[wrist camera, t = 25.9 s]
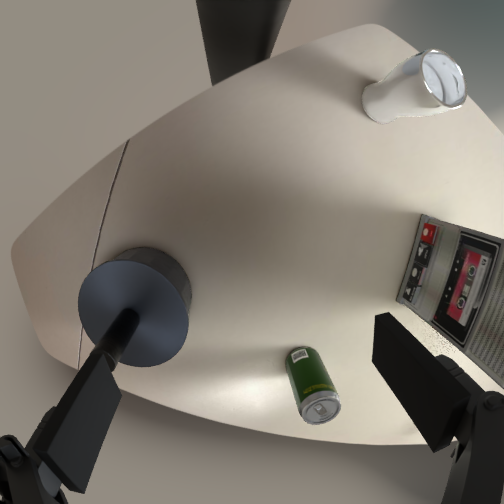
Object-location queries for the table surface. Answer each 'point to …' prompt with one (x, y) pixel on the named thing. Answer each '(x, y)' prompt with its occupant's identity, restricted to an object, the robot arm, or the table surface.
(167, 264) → the tin
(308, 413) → the beer can
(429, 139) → the table surface
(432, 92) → the beer glass
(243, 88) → the table surface
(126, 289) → the tin lid
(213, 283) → the table surface
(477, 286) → the cassette tape recorder
